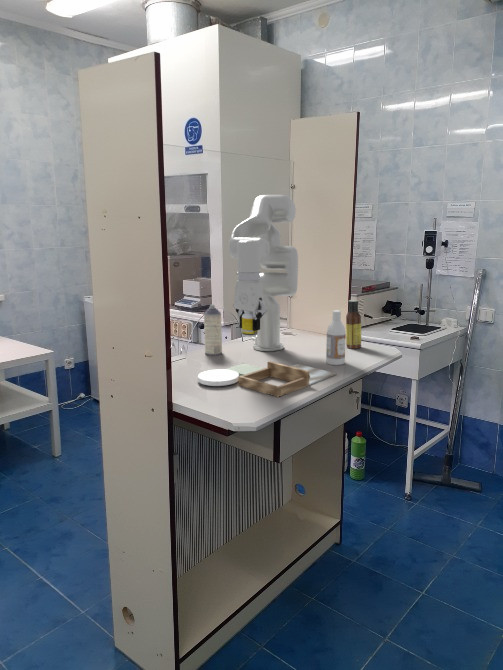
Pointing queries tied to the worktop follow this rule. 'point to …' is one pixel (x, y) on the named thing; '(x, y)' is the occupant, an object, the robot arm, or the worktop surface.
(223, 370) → the plastic lid
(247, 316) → the supplement bottle
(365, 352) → the worktop surface
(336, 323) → the bath foam
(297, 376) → the frame
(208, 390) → the worktop surface
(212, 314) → the aerosol can
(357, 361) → the worktop surface
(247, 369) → the tray
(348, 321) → the sauce bottle
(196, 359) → the worktop surface
